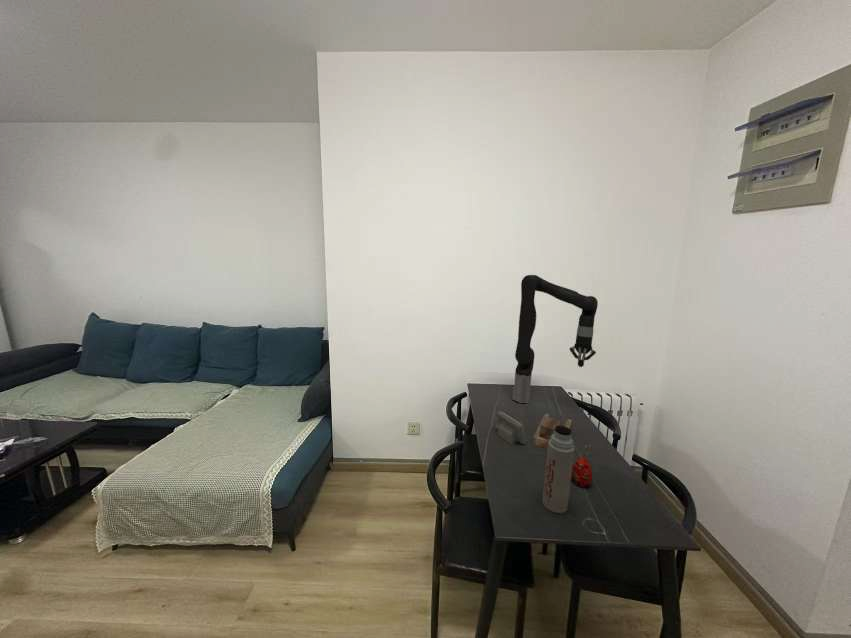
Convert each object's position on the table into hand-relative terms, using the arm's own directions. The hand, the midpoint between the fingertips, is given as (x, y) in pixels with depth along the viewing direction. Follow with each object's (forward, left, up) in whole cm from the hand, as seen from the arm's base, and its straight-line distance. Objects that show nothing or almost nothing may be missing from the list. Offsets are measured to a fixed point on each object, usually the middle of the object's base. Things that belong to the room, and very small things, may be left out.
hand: (580, 366), depth 168 cm
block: (-8, -33, -29) cm, 44 cm away
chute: (-7, -26, -29) cm, 39 cm away
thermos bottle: (+1, -74, -29) cm, 80 cm away
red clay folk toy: (+8, -56, -29) cm, 64 cm away
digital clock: (-24, -40, -29) cm, 55 cm away
